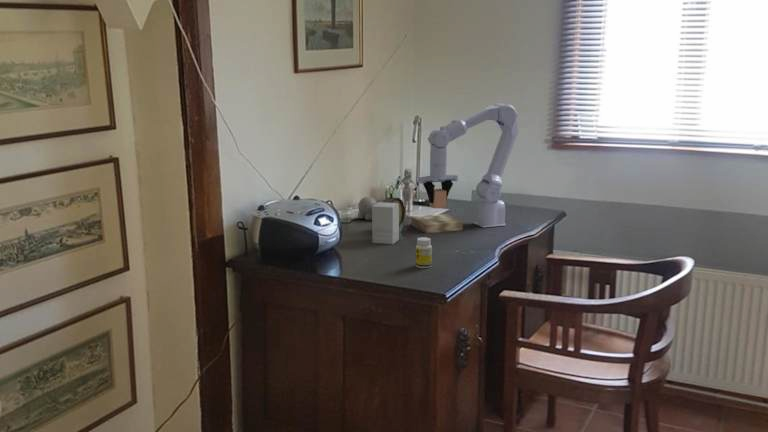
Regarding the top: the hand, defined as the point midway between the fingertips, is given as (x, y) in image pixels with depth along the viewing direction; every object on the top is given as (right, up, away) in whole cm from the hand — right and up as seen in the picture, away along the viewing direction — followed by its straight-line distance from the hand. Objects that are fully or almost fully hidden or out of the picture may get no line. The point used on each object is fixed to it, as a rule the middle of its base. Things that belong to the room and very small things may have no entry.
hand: (437, 202), depth 272 cm
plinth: (0, -9, +3) cm, 9 cm away
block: (0, -2, 0) cm, 2 cm away
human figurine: (-10, -5, +23) cm, 26 cm away
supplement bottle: (-7, -20, -46) cm, 51 cm away
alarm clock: (-17, -10, -2) cm, 20 cm away
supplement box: (-19, -14, -17) cm, 28 cm away
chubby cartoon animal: (-23, -7, +15) cm, 28 cm away
